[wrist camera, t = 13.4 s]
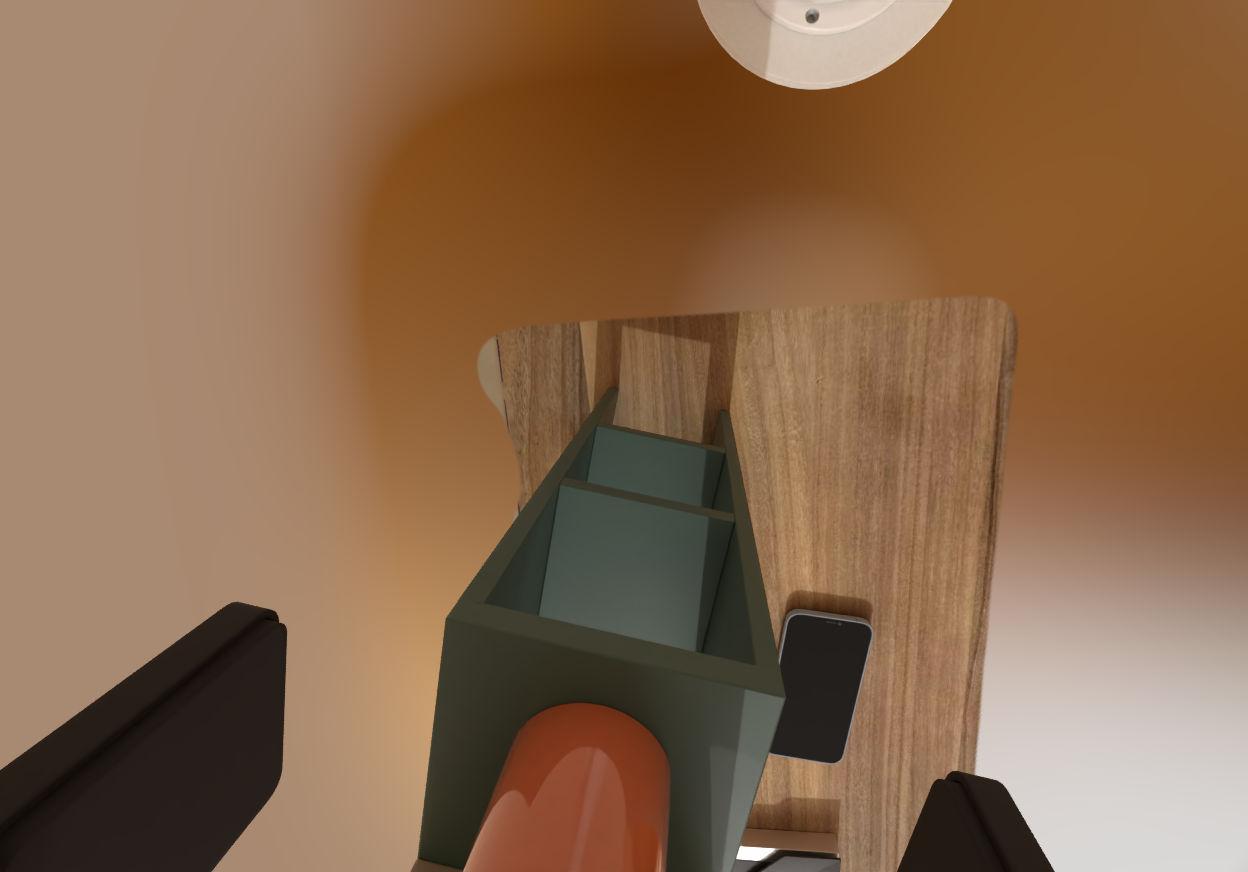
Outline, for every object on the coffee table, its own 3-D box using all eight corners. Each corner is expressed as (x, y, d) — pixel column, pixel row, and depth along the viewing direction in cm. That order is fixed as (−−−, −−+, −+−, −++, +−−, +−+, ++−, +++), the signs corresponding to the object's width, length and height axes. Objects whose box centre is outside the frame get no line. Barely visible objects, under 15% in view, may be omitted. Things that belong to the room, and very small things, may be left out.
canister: (520, 684, 19) (441, 873, 13) (687, 723, 18) (681, 934, 13) (499, 815, 20) (419, 1037, 14) (653, 853, 20) (634, 1097, 14)
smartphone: (760, 753, 58) (787, 611, 54) (759, 745, 59) (786, 605, 55) (841, 766, 58) (876, 624, 54) (839, 758, 59) (873, 618, 54)
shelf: (609, 386, 52) (100, 1100, 8) (729, 411, 51) (916, 1335, 7) (589, 498, 55) (132, 1483, 11) (703, 522, 54) (719, 1675, 10)
